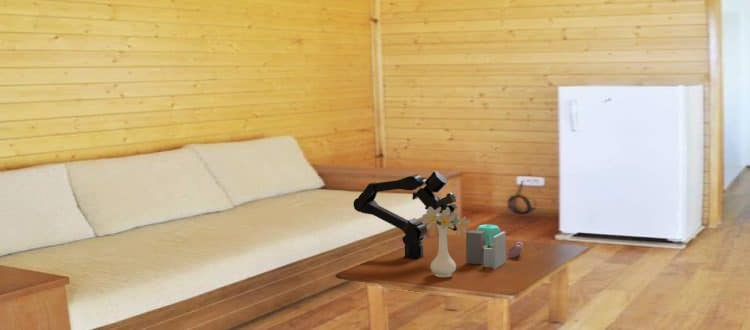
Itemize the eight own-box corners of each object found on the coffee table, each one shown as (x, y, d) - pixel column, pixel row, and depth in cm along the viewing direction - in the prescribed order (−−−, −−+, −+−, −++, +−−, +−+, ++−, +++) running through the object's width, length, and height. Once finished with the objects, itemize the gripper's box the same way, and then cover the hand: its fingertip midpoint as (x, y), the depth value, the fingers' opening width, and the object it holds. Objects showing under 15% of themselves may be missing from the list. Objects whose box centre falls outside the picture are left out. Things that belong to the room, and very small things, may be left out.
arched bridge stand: (482, 267, 323) (482, 236, 322) (492, 261, 334) (492, 230, 333) (495, 268, 321) (495, 237, 320) (505, 262, 332) (505, 231, 330)
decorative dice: (474, 244, 365) (474, 226, 364) (487, 242, 370) (487, 223, 369) (489, 247, 359) (489, 228, 358) (501, 244, 364) (501, 226, 363)
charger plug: (466, 263, 330) (466, 232, 329) (470, 260, 334) (470, 230, 333) (484, 264, 327) (484, 233, 325) (489, 262, 331) (489, 231, 330)
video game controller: (517, 262, 337) (525, 247, 336) (506, 257, 338) (514, 242, 336) (518, 257, 347) (525, 242, 346) (507, 252, 347) (515, 237, 346)
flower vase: (461, 282, 302) (460, 212, 299) (414, 276, 312) (413, 208, 309) (476, 274, 313) (475, 206, 311) (430, 269, 323) (430, 203, 320)
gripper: (433, 190, 325) (461, 220, 322) (452, 183, 342) (478, 212, 338) (415, 209, 330) (441, 239, 326) (434, 202, 346) (460, 230, 343)
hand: (456, 230), depth 333 cm, fingers closed
